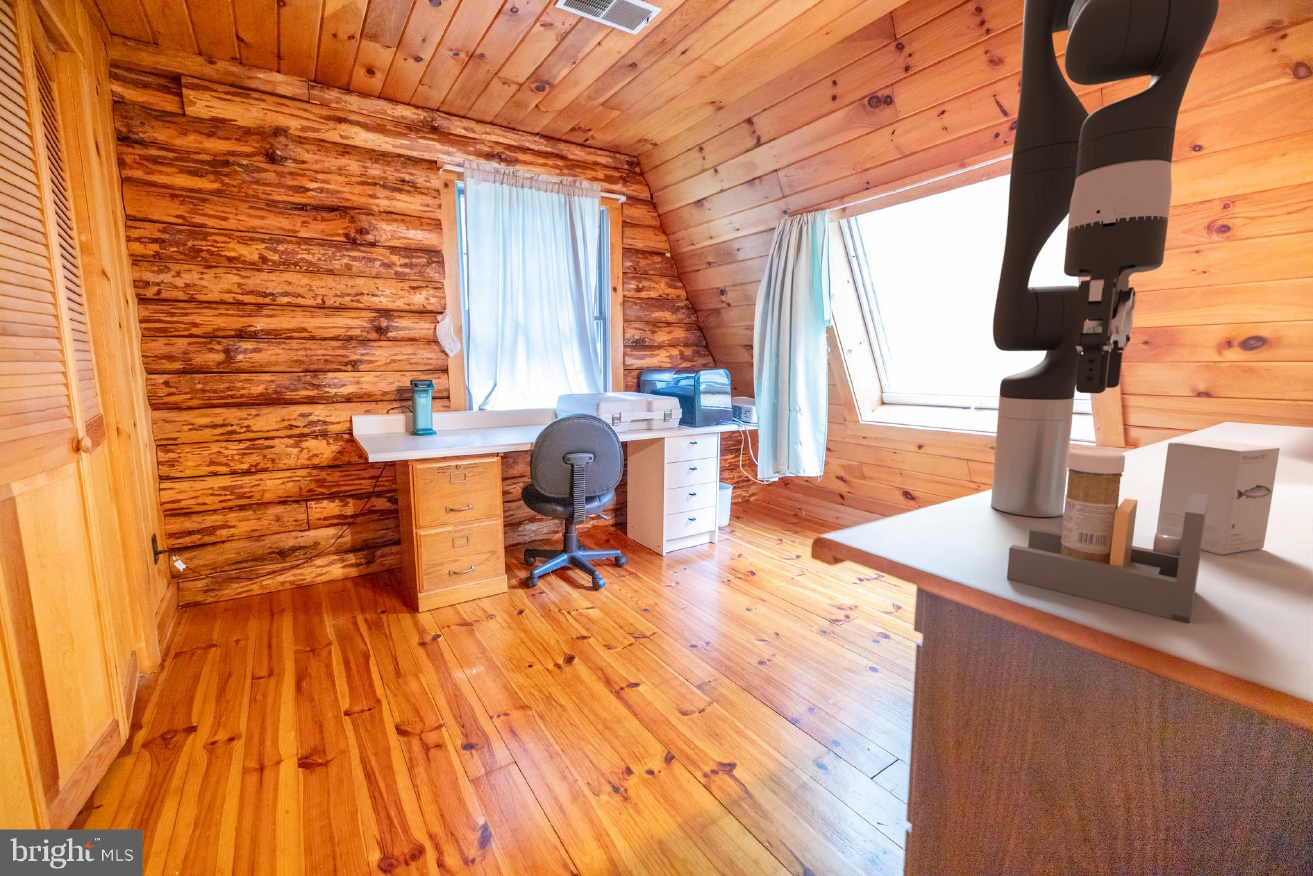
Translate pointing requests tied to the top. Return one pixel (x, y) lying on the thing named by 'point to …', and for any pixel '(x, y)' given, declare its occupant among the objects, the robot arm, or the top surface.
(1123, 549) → the block
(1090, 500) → the sprinkles bottle
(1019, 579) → the lane
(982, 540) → the top surface
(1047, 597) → the top surface
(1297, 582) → the top surface
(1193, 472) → the supplement box
